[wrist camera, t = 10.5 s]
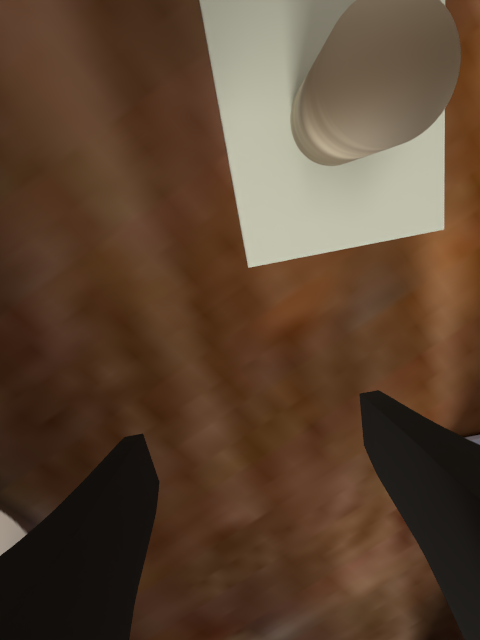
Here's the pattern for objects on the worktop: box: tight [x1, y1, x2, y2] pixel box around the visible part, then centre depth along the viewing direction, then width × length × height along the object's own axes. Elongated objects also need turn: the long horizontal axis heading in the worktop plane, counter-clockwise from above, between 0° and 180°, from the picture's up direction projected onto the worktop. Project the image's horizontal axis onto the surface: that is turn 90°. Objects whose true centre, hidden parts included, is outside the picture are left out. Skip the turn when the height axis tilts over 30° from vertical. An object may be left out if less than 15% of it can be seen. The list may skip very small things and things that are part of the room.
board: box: [199, 0, 445, 267], centre depth 16 cm, size 12×10×1 cm
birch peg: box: [290, 0, 461, 166], centre depth 13 cm, size 4×4×6 cm
